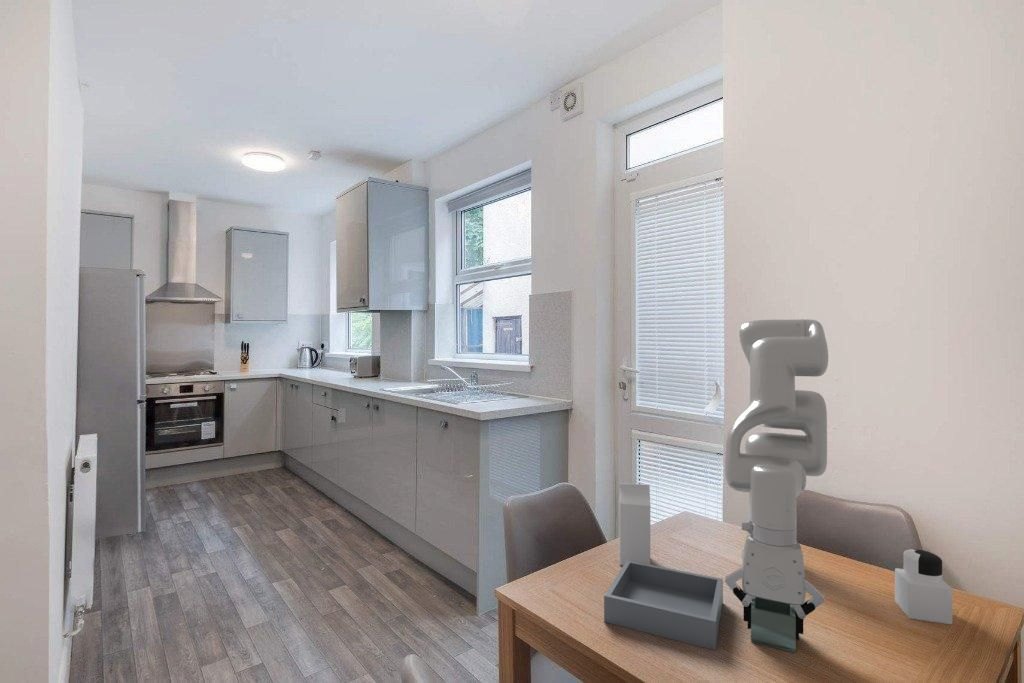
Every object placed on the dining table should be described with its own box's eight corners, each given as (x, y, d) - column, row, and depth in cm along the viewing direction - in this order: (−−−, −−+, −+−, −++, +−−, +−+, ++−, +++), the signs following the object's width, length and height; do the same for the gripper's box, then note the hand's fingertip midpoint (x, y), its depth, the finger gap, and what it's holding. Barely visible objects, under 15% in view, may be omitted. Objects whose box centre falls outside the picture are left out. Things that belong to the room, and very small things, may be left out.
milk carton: (650, 568, 120) (650, 488, 120) (619, 565, 122) (620, 487, 122) (648, 556, 127) (648, 480, 127) (619, 553, 129) (619, 479, 129)
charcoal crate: (626, 582, 113) (626, 560, 113) (722, 603, 105) (723, 578, 105) (604, 621, 97) (604, 595, 97) (715, 650, 88) (715, 621, 88)
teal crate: (751, 622, 97) (751, 591, 97) (793, 632, 94) (793, 600, 94) (751, 642, 91) (751, 608, 91) (795, 653, 88) (795, 618, 88)
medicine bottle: (935, 607, 103) (935, 548, 103) (953, 625, 97) (953, 562, 97) (894, 601, 106) (894, 544, 106) (908, 619, 99) (908, 557, 99)
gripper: (720, 532, 93) (719, 629, 93) (831, 550, 85) (831, 655, 85) (723, 519, 100) (722, 609, 100) (826, 534, 92) (826, 632, 92)
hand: (772, 630), depth 92 cm, fingers closed on teal crate, 7 cm apart
